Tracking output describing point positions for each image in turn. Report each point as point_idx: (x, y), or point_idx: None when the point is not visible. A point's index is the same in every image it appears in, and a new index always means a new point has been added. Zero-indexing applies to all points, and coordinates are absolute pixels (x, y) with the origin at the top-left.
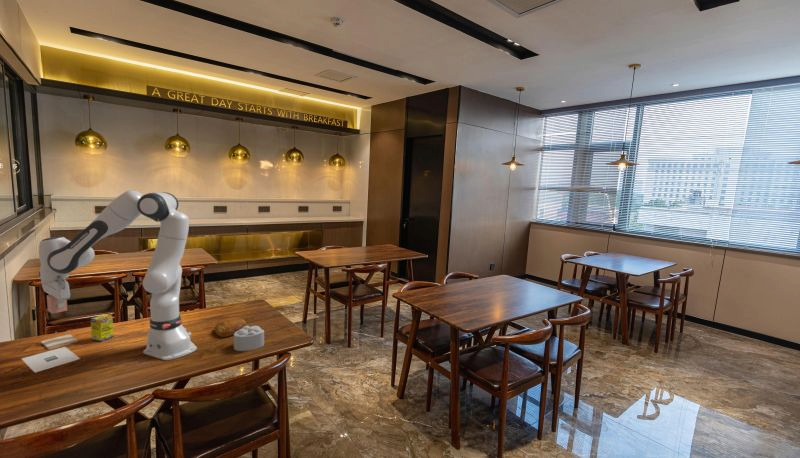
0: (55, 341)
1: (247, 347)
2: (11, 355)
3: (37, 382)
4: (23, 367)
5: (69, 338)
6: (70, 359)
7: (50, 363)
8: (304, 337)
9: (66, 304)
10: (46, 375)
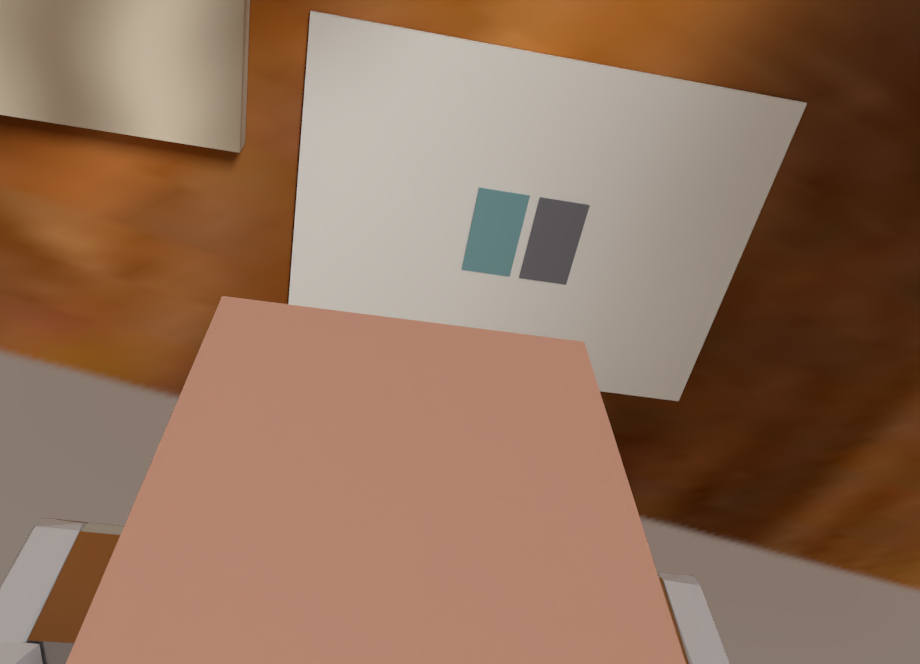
0: (82, 19)
1: None
2: (117, 355)
3: (840, 442)
4: None
5: None
6: (723, 160)
7: (626, 283)
8: None
9: (622, 487)
10: (802, 378)
